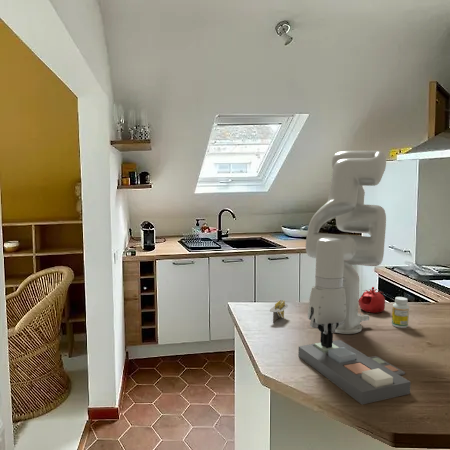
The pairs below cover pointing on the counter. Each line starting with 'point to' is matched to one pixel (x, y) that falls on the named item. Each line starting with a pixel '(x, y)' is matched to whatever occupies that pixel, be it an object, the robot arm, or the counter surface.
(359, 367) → the terracotta key
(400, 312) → the supplement bottle
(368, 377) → the cream key
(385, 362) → the card
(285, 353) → the counter surface
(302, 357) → the keyguard frame
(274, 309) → the platform
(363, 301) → the pomegranate
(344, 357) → the blue key
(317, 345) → the sage key
